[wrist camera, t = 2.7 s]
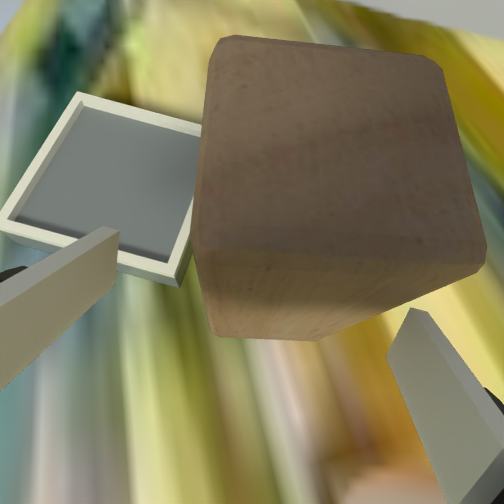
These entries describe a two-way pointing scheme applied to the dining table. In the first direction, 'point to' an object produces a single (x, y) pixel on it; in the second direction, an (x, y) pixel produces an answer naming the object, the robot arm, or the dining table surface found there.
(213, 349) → the dining table surface
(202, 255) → the block
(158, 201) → the baseplate
